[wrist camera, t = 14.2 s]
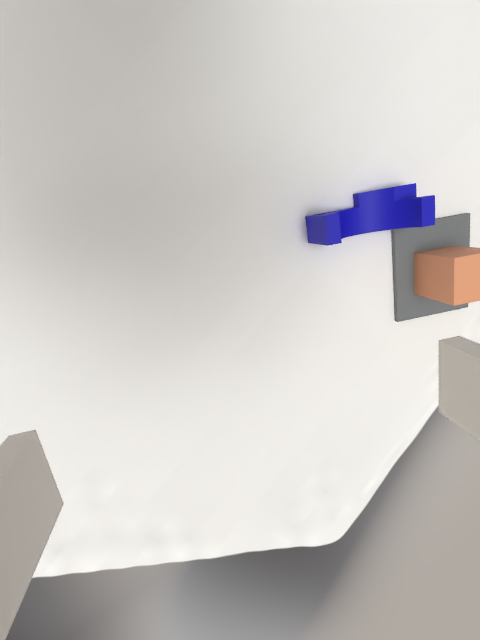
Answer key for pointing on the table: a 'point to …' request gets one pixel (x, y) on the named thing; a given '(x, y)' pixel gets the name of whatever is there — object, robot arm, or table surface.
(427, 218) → the blue arch bracket
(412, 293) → the stand
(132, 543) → the table surface
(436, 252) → the peach clay cube
